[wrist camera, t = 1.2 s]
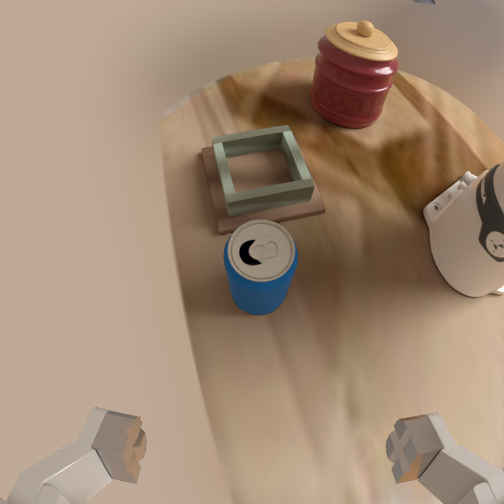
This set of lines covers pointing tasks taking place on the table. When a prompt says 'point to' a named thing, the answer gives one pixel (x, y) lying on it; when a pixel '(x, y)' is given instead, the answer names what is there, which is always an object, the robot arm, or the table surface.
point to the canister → (353, 74)
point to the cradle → (259, 178)
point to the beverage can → (260, 265)
